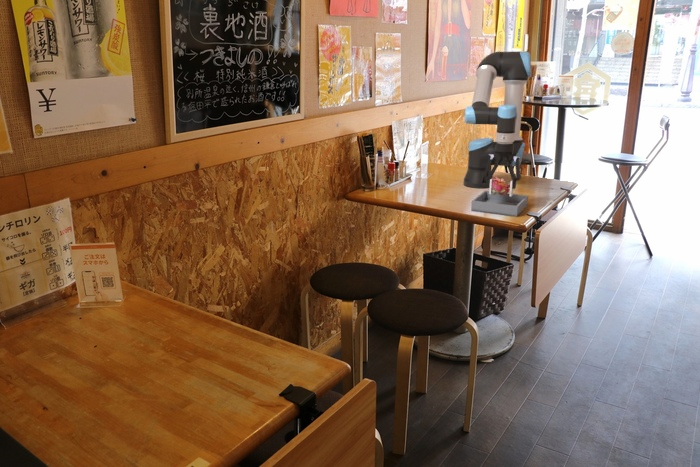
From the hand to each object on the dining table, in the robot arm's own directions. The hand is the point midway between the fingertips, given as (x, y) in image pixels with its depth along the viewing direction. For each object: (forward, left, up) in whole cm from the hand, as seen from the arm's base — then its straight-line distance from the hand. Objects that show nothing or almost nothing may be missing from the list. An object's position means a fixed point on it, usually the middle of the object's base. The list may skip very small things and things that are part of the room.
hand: (500, 194), depth 250 cm
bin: (0, 0, -6) cm, 6 cm away
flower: (0, 0, 0) cm, 0 cm away
